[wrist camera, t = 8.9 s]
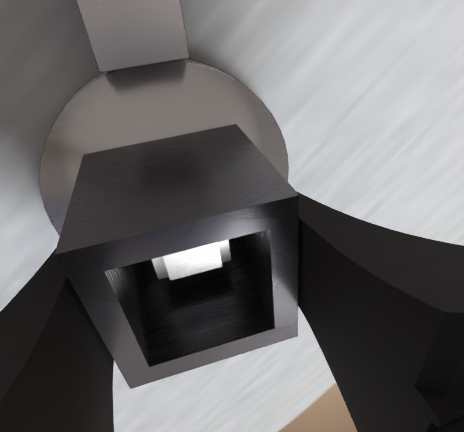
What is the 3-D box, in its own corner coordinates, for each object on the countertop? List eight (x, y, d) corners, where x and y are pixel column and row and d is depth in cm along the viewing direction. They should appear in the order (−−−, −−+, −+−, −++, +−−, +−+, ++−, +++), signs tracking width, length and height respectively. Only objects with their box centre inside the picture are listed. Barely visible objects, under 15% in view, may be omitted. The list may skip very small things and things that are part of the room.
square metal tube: (129, 269, 13) (130, 388, 9) (83, 154, 10) (54, 254, 6) (248, 238, 14) (297, 336, 10) (236, 123, 11) (299, 194, 7)
